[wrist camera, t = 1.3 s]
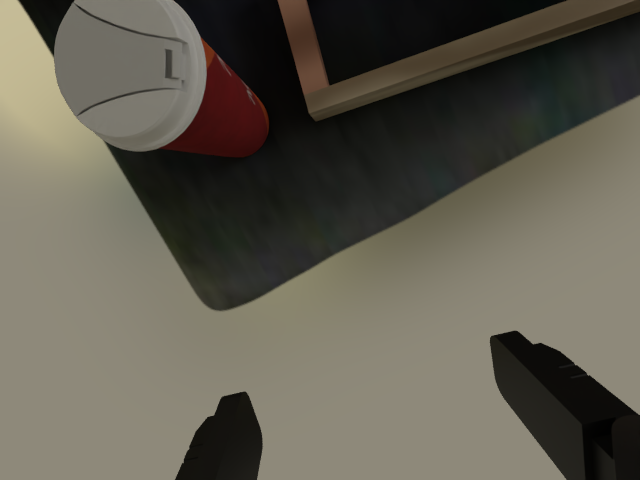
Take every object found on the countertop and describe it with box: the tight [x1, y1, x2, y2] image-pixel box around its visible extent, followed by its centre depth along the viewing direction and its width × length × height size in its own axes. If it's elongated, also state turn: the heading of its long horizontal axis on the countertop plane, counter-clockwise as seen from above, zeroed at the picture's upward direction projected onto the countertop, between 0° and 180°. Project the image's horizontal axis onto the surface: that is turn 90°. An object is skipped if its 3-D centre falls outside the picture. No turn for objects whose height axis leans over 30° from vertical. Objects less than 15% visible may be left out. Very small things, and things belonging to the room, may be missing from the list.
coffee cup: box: [54, 0, 269, 157], centre depth 24 cm, size 8×8×15 cm
